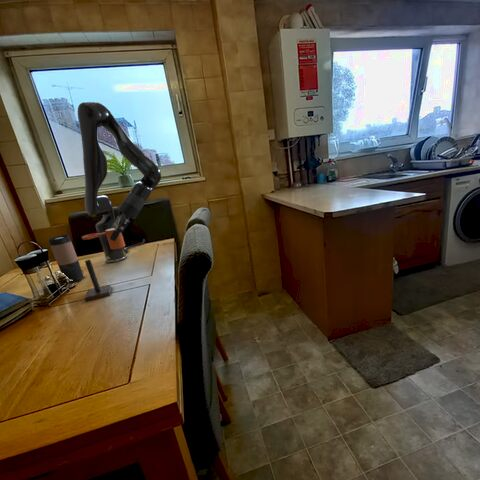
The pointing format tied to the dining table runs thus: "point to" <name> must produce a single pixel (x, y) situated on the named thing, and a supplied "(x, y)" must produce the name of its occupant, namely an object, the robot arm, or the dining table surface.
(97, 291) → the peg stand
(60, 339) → the dining table surface
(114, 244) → the measuring cup
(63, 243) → the travel mug
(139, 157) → the robot arm
